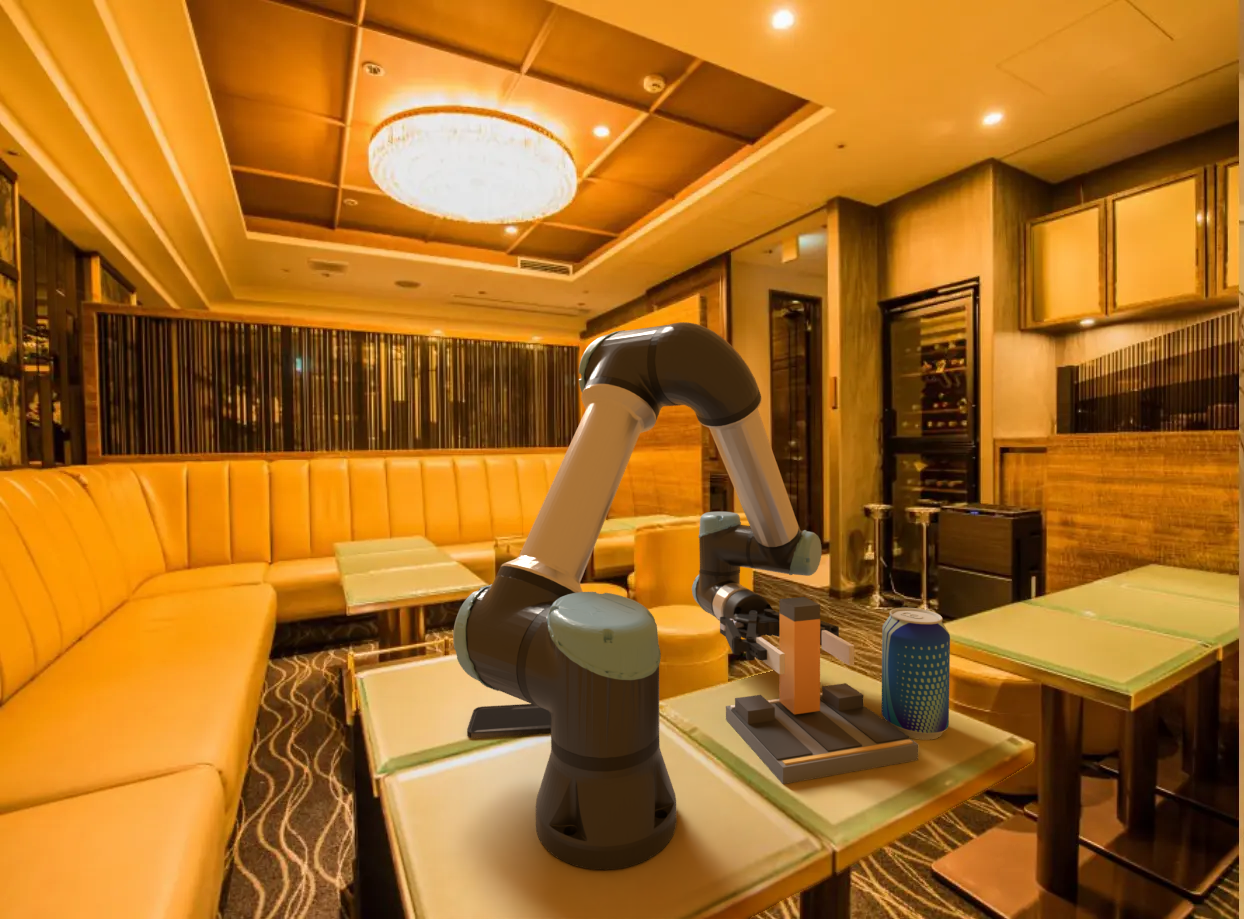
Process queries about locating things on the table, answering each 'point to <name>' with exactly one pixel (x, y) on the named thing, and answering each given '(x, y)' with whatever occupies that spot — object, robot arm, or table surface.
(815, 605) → the orange lever
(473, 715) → the phone
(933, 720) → the beer can
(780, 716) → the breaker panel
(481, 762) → the table surface
